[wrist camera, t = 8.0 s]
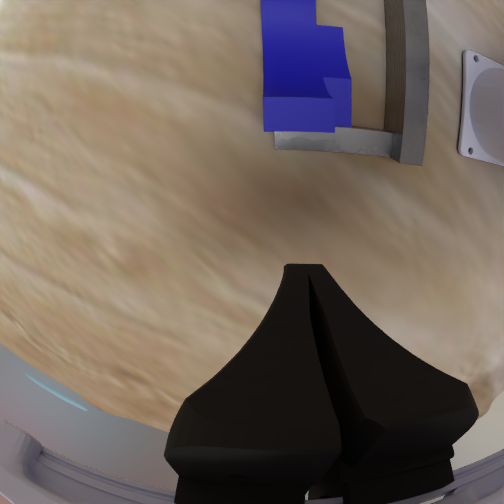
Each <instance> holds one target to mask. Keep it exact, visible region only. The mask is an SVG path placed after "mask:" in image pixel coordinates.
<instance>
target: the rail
mask: <svg viewBox="0 0 504 504" xmlns="http://www.w3.org/2000/svg"><path fill="white" fill-rule="evenodd" d="M384 7H385V23H386V55H387V71H386V105H385V122H384V130H382V129H374V128H366V127H357V126H351V127H339V126H335V133H325V132H274V149H285V150H311V151H329V152H343V153H355V154H366V155H376V156H385V157H391V158H392V159H394V160H396V161H397V162H399V163H402V164H410V165H417V166H422V162H423V155H424V147H425V138H426V128H427V116H428V100H429V34H428V19H427V8H426V0H384Z"/></svg>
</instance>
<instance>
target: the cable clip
mask: <svg viewBox="0 0 504 504" xmlns="http://www.w3.org/2000/svg"><path fill="white" fill-rule="evenodd" d="M261 17H262V39H263V74H264V88H263V120H264V132H325V133H335V126H339V127H351V77H350V73H349V69H348V65H347V60H346V54H345V47H344V39H343V28H342V27H333V26H321V25H316V2H315V0H261Z"/></svg>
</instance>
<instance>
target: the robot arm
mask: <svg viewBox="0 0 504 504" xmlns="http://www.w3.org/2000/svg"><path fill="white" fill-rule="evenodd" d="M473 57H475V59H476V61H475V60H474V58H473ZM469 148H470V152H469V153H468V149H469ZM458 151H459V153H460V154H461V155H463V156H465V157H469V158H474V159H478V160H482V161H486V162H490V163H493V164H497V165H501V166H504V66H503V65H501V64H499V63H497V62H495V61H493V60H491V59H489V58H487V57H484V56H482V55H480V54H478V53H476V52H473V51H471V50H465V51H464V52H463V101H462V116H461V127H460V137H459V145H458ZM478 416H479V411H478V408H477V406H476V403H475V401H474V398H473V396H472V393H471V391H470V389H469V387H468V385H467V383H464V382H462V381H460V380H458V379H456V378H454V377H452V376H450V375H448V374H446V373H444V372H442V371H440V370H438V369H436V368H435V367H433V366H431V365H429V364H428V363H426V362H424V361H423V360H421V359H420V358H418V357H416V356H415V355H413V354H412V353H410V352H409V351H408V350H406V349H405V348H403V347H402V346H401V345H399V344H398V343H397V342H395V341H394V340H393V339H391V338H390V337H389V336H388V335H386V334H385V333H384V332H383V331H382V330H381V329H380V328H378V327H377V326H376V325H375V324H374V323H373V322H372V321H371V320H370V319H369V318H368V317H366V315H365V314H364V313H363V312H362V311H361V310H360V309H359V308H358V307H357V306H356V305H355V304H354V303H353V302H352V300H351V299H350V298H349V297H348V296H347V295H346V293H345V292H344V291H343V290H342V289H341V287H340V286H339V285H338V284H337V282H336V281H335V280H334V279H333V277H332V276H331V275H330V273H329V272H328V271H327V270H326V268H325V267H324V266H323V265H322V264H286V265H285V266H284V273H283V278H282V281H281V284H280V287H279V289H278V291H277V294H276V296H275V298H274V300H273V302H272V304H271V306H270V308H269V310H268V312H267V313H266V315H265V317H264V319H263V320H262V322H261V323H260V325H259V326H258V328H257V329H256V331H255V332H254V333H253V335H252V336H251V337H250V339H249V340H248V341H247V342H246V344H245V345H244V346H243V347H242V348H241V350H240V351H239V352H238V353H237V354H236V355H235V356H234V357H233V358H232V359H231V360H230V361H229V362H228V363H227V364H226V365H225V366H224V367H223V368H222V369H221V370H220V371H219V372H218V373H217V374H216V375H215V376H214V377H213V378H211V379H210V380H209V381H208V382H207V383H205V384H204V385H203V386H201V387H200V388H199V389H198V390H196V391H195V392H194V393H192V394H191V395H190V396H189V397H187V398H186V399H185V400H184V402H183V404H182V406H181V407H180V409H179V411H178V413H177V415H176V417H175V419H174V422H173V424H172V427H171V429H170V432H169V435H168V439H167V444H166V448H165V452H164V457H165V459H166V461H167V462H168V463H169V464H170V466H171V467H172V468H173V469H174V470H175V472H176V473H177V474H178V475H179V478H178V483H177V489H176V491H173V490H168V489H164V488H159V487H155V486H151V485H147V484H143V483H139V482H135V481H132V480H128V479H125V478H122V477H118V476H115V475H112V474H109V473H106V472H103V471H100V470H98V469H95V468H92V467H89V466H87V465H84V464H82V463H79V462H77V461H74V460H72V459H70V458H67V457H65V456H63V455H60V454H58V453H56V452H54V451H52V450H50V449H48V448H46V447H44V446H42V445H41V443H40V442H39V441H37V440H36V439H35V438H34V437H32V436H31V435H30V434H28V433H26V432H25V431H23V430H22V429H20V428H18V427H16V426H15V425H13V424H11V423H10V422H7V421H6V420H3V421H2V423H1V425H0V494H1V495H2V496H4V497H5V498H6V499H7V500H9V501H10V502H11V503H13V504H419V503H422V502H426V501H428V500H432V499H435V498H438V497H440V496H443V495H445V496H444V497H443V499H441V500H439V501H436V502H434V503H431V504H504V449H503V450H501V451H499V452H497V453H494V454H492V455H490V456H488V457H486V458H484V459H481V460H479V461H477V462H474V463H472V464H470V465H467V466H464V467H462V468H459V469H457V470H454V471H452V467H451V462H450V459H451V458H452V457H454V450H453V447H452V445H453V444H454V443H455V442H456V441H457V440H458V439H459V438H460V437H462V436H463V435H464V434H465V433H466V432H467V431H468V430H469V429H470V428H471V427H472V426H473V425H474V423H475V422H476V420H477V418H478ZM308 491H309V493H308V500H305V494H306V493H307V492H308Z"/></svg>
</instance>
